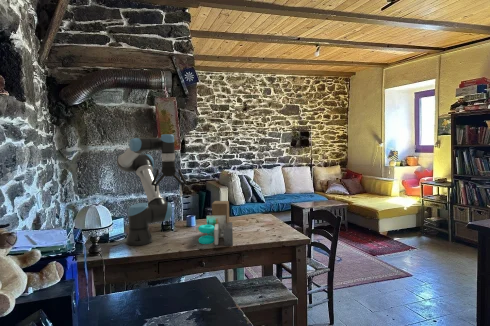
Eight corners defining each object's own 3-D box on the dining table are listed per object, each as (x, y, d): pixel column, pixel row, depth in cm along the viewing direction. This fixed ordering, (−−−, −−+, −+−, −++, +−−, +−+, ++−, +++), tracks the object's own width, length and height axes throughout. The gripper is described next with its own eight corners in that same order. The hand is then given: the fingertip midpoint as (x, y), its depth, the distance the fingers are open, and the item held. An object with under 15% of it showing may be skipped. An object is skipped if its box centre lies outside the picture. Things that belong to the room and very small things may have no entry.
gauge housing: (205, 246, 201) (204, 222, 200) (207, 237, 219) (206, 215, 217) (232, 245, 202) (232, 221, 201) (232, 236, 219) (232, 214, 218)
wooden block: (229, 229, 236) (228, 200, 235) (227, 233, 226) (226, 203, 225) (215, 229, 237) (214, 200, 236) (212, 233, 227) (211, 203, 226)
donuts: (207, 223, 215) (218, 225, 208) (207, 238, 216) (218, 242, 209) (194, 226, 208) (205, 229, 201) (195, 242, 208) (206, 245, 202)
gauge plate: (214, 244, 202) (214, 225, 201) (215, 237, 217) (215, 219, 216) (218, 244, 202) (217, 225, 201) (218, 237, 217) (218, 219, 216)
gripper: (145, 161, 198) (146, 198, 199) (189, 160, 199) (190, 197, 200) (148, 160, 205) (149, 196, 207) (190, 159, 206) (191, 195, 208)
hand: (169, 196), depth 203 cm, fingers open, 13 cm apart
